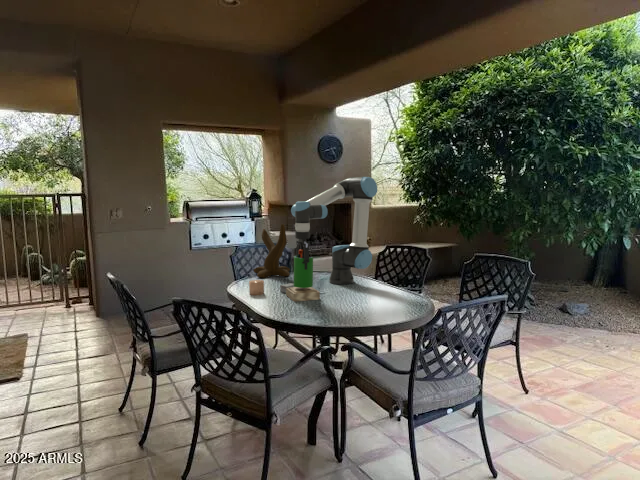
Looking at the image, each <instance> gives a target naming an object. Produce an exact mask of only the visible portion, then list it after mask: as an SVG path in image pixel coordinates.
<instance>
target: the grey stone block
mask: <svg viewBox="0 0 640 480" xmlns="http://www.w3.org/2000/svg"><path fill="white" fill-rule="evenodd" d="M289 287H294V283H291V282H290V283H286V284H280V287H279V289H280V290H279V291H280V293H283V294H286V288H289Z"/></svg>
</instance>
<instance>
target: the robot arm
mask: <svg viewBox="0 0 640 480" xmlns="http://www.w3.org/2000/svg"><path fill="white" fill-rule="evenodd" d="M377 193H378V184H377V182H376V180H375V179H374V178H373V177H369V176H352V177H347V178H345V179H344V180H341V181H339V182H337V183H335V184H333V187H331V188H329V189H327V190H325V191H323V192H321V193H320V194H319V193H318V194H317V195H315V196H314V197H313V196H312V198H310V199H308V200H306V201H296V202H295V204H293V205H292V207H291V209H290V213H291V215H292V216H293V217H294V221H295V224H294V227H295V228H294V229H295V232H294V233H295V235H294V237H295V239H297V240H296V242H295V243H296V255H295V256H298V258H301V255H300V254H299V250H300V249H301V251H302V250H303V253H302V258H304V260H303V262H302V264H303V263H305V270H307V263H309V258H310V243H308V242H307V241H308V240H307V239H310V235H311V234H310V229H311V226H310V224H311V223H310V222H311V221H310V220H319V219H320V220H321V219H325V218H326V217H327V216H328V211H329V210H328V208H327V206H328V205H329V204H331V203H333V202H335V201H337V200H338V199H339V200H342V199H344V198H349V197H352V200H353V202H354V211H353V212H354V213H353V214H354V215H353V223H352V225H353V227H352V236H351V237H352V240H351V241H352V242H351V243H350V244H341V245H335V246H332V251H331V264H332V265H331V267H332V268H331V269H332V270H331V272H330V276H329V283H330V284H333V285H349V284H350V285H351V284H353V283H354V281H355V280H354V279H355V278H354V275H353V273H352V268H353V269H357V270H365V269H367V268H368V267H369V266H370V265H371V263H372V261H373V253H372V252H371V251H370V248H369V247H370V246H369V245H368V244H367V243H368V242H367V241H368V232H369V230H368V228H369V214H370V213H369V212H370V203H371V202H373V198H374V197H376V195H377Z"/></svg>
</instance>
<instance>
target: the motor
mask: <svg viewBox="0 0 640 480" xmlns="http://www.w3.org/2000/svg"><path fill="white" fill-rule="evenodd" d="M302 253H303V250H302V251H301V249H300V250H299V254H300V255H301V258H298V256H296V255H294V256H293V284H294V287H298V288H309V287H314V282H313V281H314V256H311V257H310V256H309V263H307V270H305V263H303V264H302V262H303V260H304V258H302Z"/></svg>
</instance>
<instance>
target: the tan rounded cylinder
mask: <svg viewBox="0 0 640 480" xmlns="http://www.w3.org/2000/svg"><path fill="white" fill-rule="evenodd" d="M248 284H249V285H248V286H249V287H248V288H249V291H248V293H249V295H250V296H255V297H256V296H262V295H264V294H265V281H264V280H262V279H253V280H252V279H251V280H249V283H248Z"/></svg>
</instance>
